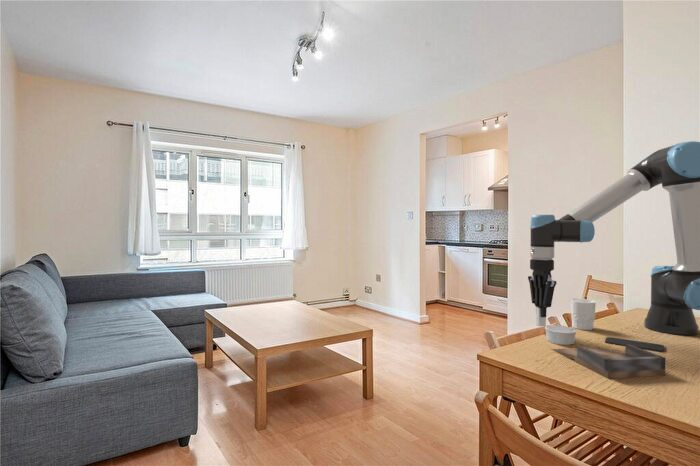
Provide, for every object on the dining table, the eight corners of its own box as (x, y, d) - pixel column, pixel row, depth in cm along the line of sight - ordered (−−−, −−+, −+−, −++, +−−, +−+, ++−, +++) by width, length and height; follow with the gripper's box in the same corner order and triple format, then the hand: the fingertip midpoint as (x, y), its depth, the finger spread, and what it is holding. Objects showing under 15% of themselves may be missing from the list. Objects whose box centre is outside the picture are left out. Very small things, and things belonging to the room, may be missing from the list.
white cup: (599, 331, 138) (599, 303, 138) (574, 330, 139) (575, 302, 139) (590, 325, 146) (590, 299, 145) (567, 324, 147) (567, 298, 147)
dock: (597, 350, 121) (598, 332, 121) (665, 379, 99) (665, 357, 98) (550, 352, 119) (550, 334, 119) (607, 382, 96) (608, 360, 96)
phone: (606, 336, 130) (664, 344, 121) (606, 339, 130) (664, 347, 121) (604, 341, 125) (664, 351, 115) (604, 344, 125) (664, 353, 115)
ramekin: (579, 347, 121) (579, 333, 121) (547, 344, 123) (547, 330, 123) (572, 339, 129) (572, 326, 129) (542, 336, 132) (543, 324, 132)
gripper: (521, 257, 142) (520, 321, 142) (543, 260, 129) (542, 331, 129) (540, 256, 143) (539, 320, 143) (564, 260, 130) (563, 330, 130)
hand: (540, 325), depth 136 cm, fingers closed
